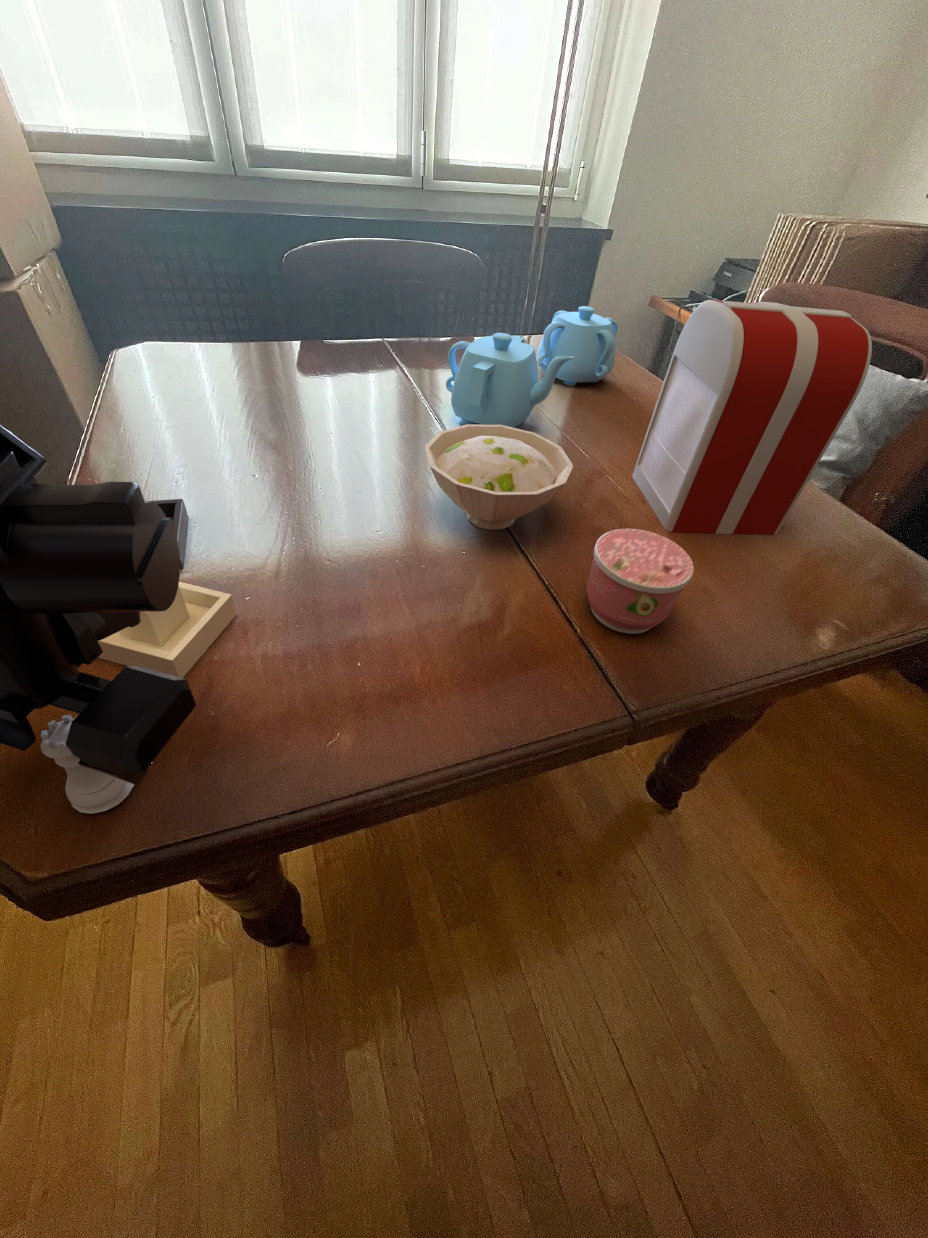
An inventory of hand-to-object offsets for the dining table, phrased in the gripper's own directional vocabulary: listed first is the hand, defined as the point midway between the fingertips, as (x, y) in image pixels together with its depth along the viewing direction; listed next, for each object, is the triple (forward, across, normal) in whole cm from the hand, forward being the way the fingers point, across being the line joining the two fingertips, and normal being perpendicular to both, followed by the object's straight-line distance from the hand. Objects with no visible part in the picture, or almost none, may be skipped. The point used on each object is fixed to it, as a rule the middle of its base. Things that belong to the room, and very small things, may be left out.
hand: (84, 761), depth 40 cm
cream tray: (+4, +7, -16) cm, 18 cm away
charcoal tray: (+4, +17, -28) cm, 33 cm away
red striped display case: (+4, -50, -66) cm, 83 cm away
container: (+4, -39, -36) cm, 53 cm away
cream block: (+3, +7, -16) cm, 18 cm away
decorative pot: (+4, -25, -112) cm, 115 cm away
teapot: (+4, -15, -81) cm, 82 cm away
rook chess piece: (+4, 0, 0) cm, 4 cm away
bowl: (+4, -20, -50) cm, 54 cm away
